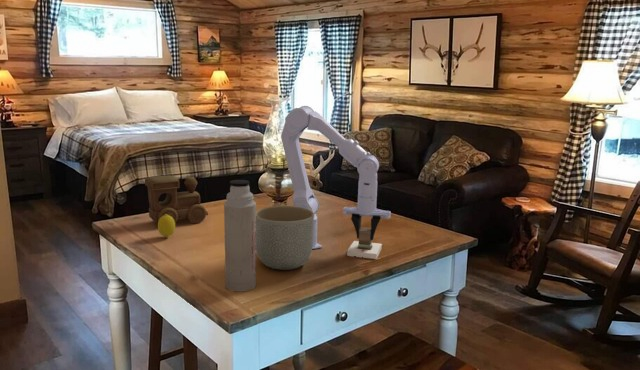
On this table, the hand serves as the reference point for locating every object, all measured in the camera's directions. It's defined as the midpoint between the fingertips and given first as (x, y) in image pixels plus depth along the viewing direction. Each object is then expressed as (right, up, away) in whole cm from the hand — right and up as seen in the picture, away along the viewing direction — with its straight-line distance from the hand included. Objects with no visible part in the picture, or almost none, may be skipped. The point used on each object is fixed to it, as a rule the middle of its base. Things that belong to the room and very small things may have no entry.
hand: (365, 238), depth 170 cm
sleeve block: (0, -4, +1) cm, 4 cm away
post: (0, -3, +1) cm, 3 cm away
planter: (-25, -7, -10) cm, 27 cm away
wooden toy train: (-65, +3, +27) cm, 71 cm away
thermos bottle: (-35, -10, -26) cm, 45 cm away
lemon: (-64, -1, +10) cm, 65 cm away
